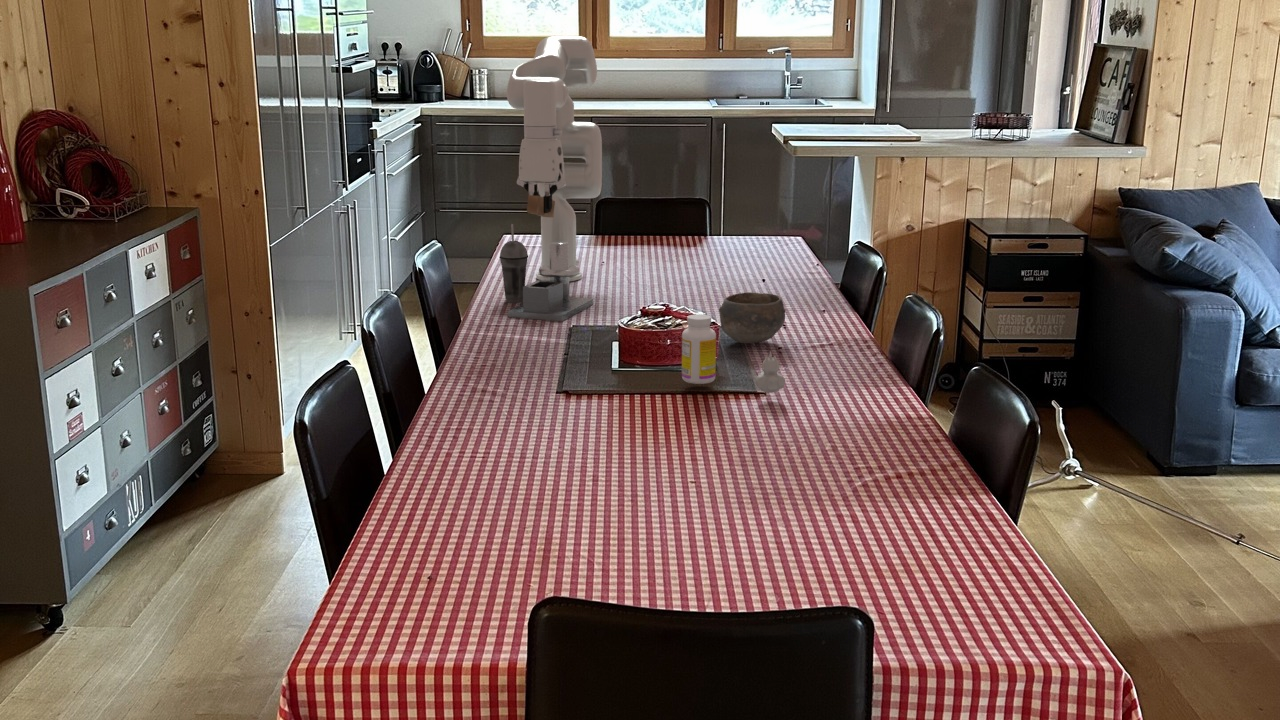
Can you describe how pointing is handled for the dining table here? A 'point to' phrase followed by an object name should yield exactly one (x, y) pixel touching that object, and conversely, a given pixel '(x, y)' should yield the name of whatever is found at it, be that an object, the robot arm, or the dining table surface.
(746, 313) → the bowl
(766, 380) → the gourd
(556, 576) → the dining table surface
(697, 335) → the supplement bottle
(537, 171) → the robot arm
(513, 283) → the beverage cup
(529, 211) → the brown wooden block
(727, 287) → the dining table surface
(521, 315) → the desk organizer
